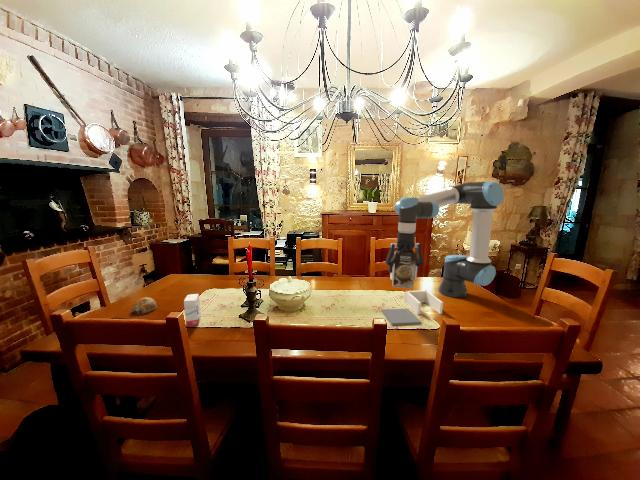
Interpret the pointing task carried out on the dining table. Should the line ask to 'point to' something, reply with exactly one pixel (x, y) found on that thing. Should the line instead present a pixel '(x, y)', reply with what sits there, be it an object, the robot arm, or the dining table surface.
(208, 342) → the dining table surface
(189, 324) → the ink box
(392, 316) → the slate pad
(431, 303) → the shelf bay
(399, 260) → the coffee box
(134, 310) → the grey brown rock
